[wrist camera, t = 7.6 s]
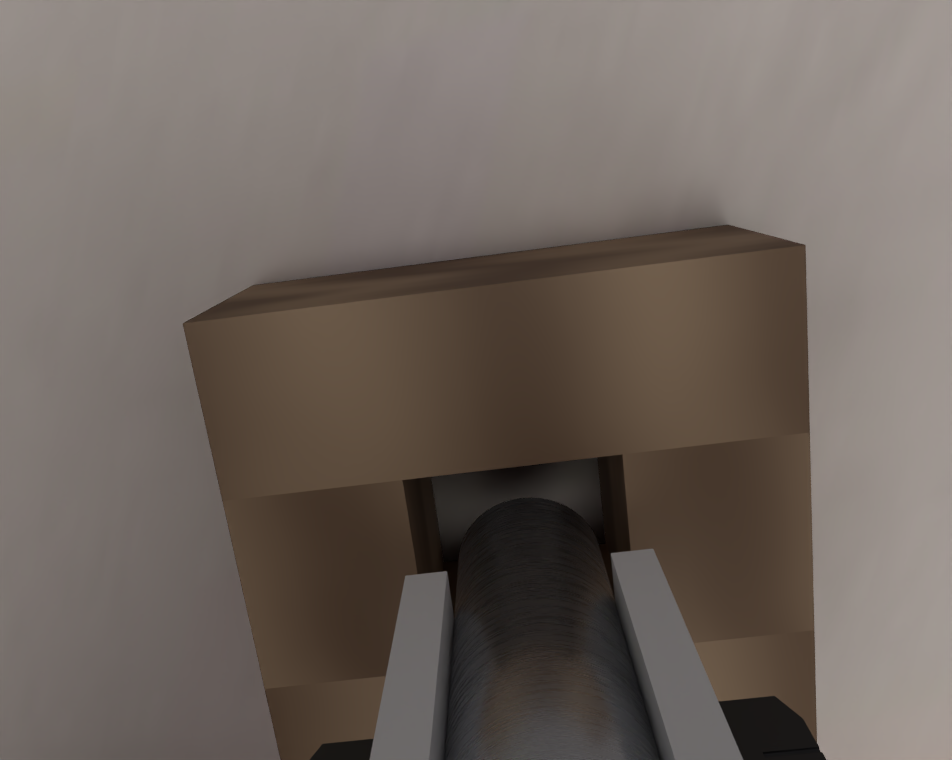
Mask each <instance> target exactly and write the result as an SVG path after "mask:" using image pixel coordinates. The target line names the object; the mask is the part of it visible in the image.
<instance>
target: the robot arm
mask: <svg viewBox="0 0 952 760" xmlns="http://www.w3.org/2000/svg"><path fill="white" fill-rule="evenodd" d="M611 563H612V574H613V585H614V596H615V604H616V607H617V611H618V614H619V617H620V621H621V624H622V628H623V631H624V635H625V638H626V642H627V645H628V648H629V652H630V655H631V659H632V662H633V666H634V669H635V673H636V676H637V680H638V683H639V686H640V690H641V693H642V697H643V700H644V704H645V707H646V711H647V714H648V718H649V721H650V724H651V728H652V731H653V735H654V738H655V742H656V745H657V749H658V752H659V755H660V759H661V760H826V758H825V757H824V755H823V753H822V752H820V750H819V746H818V744H817V742H816V741H815V739H814V737H813V735H812V734H811V732H810V730H809V728H808V726H807V725H806V723H805V721H804V719H803V718H802V717H801V716H799V715H798V714H797V713H796V712H794V711H793V710H792V709H791V708H789V707H788V706H787V705H786V704H784V703H783V702H782V701H781V700H779V699H778V698H777V697H776V696H768V697H758V698H748V699H738V700H728V701H718V699H717V697H716V695H715V692H714V690H713V688H712V685H711V683H710V681H709V678H708V676H707V674H706V671H705V669H704V667H703V664H702V662H701V659H700V657H699V655H698V652H697V650H696V648H695V645H694V643H693V641H692V638H691V636H690V634H689V631H688V629H687V627H686V624H685V622H684V620H683V617H682V615H681V613H680V610H679V608H678V606H677V603H676V601H675V598H674V596H673V594H672V591H671V589H670V587H669V584H668V582H667V580H666V577H665V575H664V573H663V570H662V568H661V566H660V563H659V561H658V559H657V556H656V554H655V552H654V549H644V550H635V551H626V552H617V553H611ZM453 630H454V613H453V607H452V600H451V594H450V587H449V580H448V574H447V571H443V572H434V573H425V574H416V575H407V576H405V580H404V585H403V591H402V596H401V601H400V606H399V611H398V616H397V621H396V626H395V632H394V637H393V642H392V647H391V652H390V657H389V662H388V668H387V673H386V678H385V683H384V688H383V693H382V698H381V704H380V709H379V714H378V719H377V724H376V729H375V734H374V739H365V740H355V741H345V742H335V743H325V744H322V745H321V746H320V747H319V749H318V750H317V751H316V752H315V754H314V755H313V756H312V757H311V759H310V760H444V758H445V744H446V730H447V716H448V701H449V687H450V673H451V659H452V645H453Z"/></svg>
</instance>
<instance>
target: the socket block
mask: <svg viewBox="0 0 952 760" xmlns="http://www.w3.org/2000/svg"><path fill="white" fill-rule="evenodd" d="M183 327H184V331H185V336H186V340H187V345H188V349H189V354H190V358H191V363H192V367H193V371H194V376H195V380H196V385H197V389H198V394H199V398H200V403H201V407H202V412H203V416H204V420H205V425H206V429H207V434H208V438H209V443H210V447H211V452H212V456H213V461H214V465H215V469H216V474H217V478H218V483H219V487H220V492H221V496H222V501H223V505H224V510H225V514H226V518H227V523H228V527H229V532H230V536H231V541H232V545H233V550H234V554H235V559H236V563H237V567H238V572H239V576H240V581H241V585H242V590H243V594H244V599H245V603H246V608H247V612H248V617H249V621H250V625H251V630H252V634H253V639H254V643H255V648H256V652H257V657H258V661H259V666H260V670H261V674H262V679H263V683H264V688H265V692H266V697H267V701H268V706H269V710H270V715H271V719H272V723H273V728H274V732H275V737H276V741H277V746H278V750H279V755H280V759H281V760H310V759H311V757H312V756H313V755H314V754H315V752H316V751H317V750H318V749H319V747H320V746H321V745H322V744H325V743H335V742H345V741H355V740H365V739H374V734H375V729H376V724H377V719H378V714H379V709H380V704H381V698H382V693H383V688H384V683H385V678H386V673H387V668H388V662H389V657H390V652H391V647H392V642H393V637H394V632H395V626H396V621H397V616H398V611H399V606H400V601H401V596H402V591H403V585H404V580H405V576H407V575H416V574H425V573H434V572H443V571H447V574H448V580H449V587H450V594H451V600H452V607H453V613H454V616H455V602H456V588H457V573H458V561H449V562H444V560H443V553H442V547H441V540H440V534H439V527H438V520H437V514H436V507H435V501H434V494H433V488H432V481H431V477H433V476H441V475H450V474H459V473H467V472H476V471H484V470H493V469H501V468H510V467H519V466H527V465H536V464H544V463H553V462H561V461H570V460H579V459H587V458H596V457H597V458H598V468H599V479H600V489H601V500H602V511H603V521H604V532H605V542H606V544H601V545H599V548H600V551H601V554H602V558H603V561H604V565H605V568H606V572H607V575H608V579H609V582H610V585H611V589H612V592H613V596H614V585H613V574H612V563H611V553H617V552H626V551H635V550H644V549H654V552H655V554H656V556H657V559H658V561H659V563H660V566H661V568H662V570H663V573H664V575H665V577H666V580H667V582H668V584H669V587H670V589H671V591H672V594H673V596H674V598H675V601H676V603H677V606H678V608H679V610H680V613H681V615H682V617H683V620H684V622H685V624H686V627H687V629H688V631H689V634H690V636H691V638H692V641H693V643H694V645H695V648H696V650H697V652H698V655H699V657H700V659H701V662H702V664H703V667H704V669H705V671H706V674H707V676H708V678H709V681H710V683H711V685H712V688H713V690H714V692H715V695H716V697H717V699H718V701H728V700H738V699H748V698H758V697H768V696H776V697H777V698H778V699H779V700H781V701H782V702H783V703H784V704H786V705H787V706H788V707H789V708H791V709H792V710H793V711H794V712H796V713H797V714H798V715H799V716H801V717H802V718H803V719H804V721H805V723H806V725H807V726H808V728H809V730H810V732H811V734H812V735H813V737H814V739H815V741H816V742H817V728H816V685H815V641H814V598H813V555H812V511H811V468H810V425H809V381H808V338H807V295H806V251H805V245H803V244H799V243H796V242H792V241H788V240H784V239H780V238H777V237H773V236H769V235H765V234H761V233H757V232H754V231H750V230H746V229H742V228H738V227H735V226H731V225H723V226H715V227H707V228H700V229H692V230H684V231H676V232H668V233H660V234H652V235H645V236H637V237H629V238H621V239H613V240H605V241H598V242H590V243H582V244H574V245H566V246H558V247H550V248H543V249H535V250H527V251H519V252H511V253H503V254H496V255H488V256H480V257H472V258H464V259H456V260H449V261H441V262H433V263H425V264H417V265H409V266H401V267H394V268H386V269H378V270H370V271H362V272H354V273H347V274H339V275H331V276H323V277H315V278H307V279H299V280H292V281H284V282H276V283H268V284H260V285H253V286H251V287H249V288H247V289H245V290H244V291H242V292H240V293H238V294H236V295H234V296H232V297H231V298H229V299H227V300H225V301H223V302H221V303H220V304H218V305H216V306H214V307H212V308H210V309H209V310H207V311H205V312H203V313H201V314H199V315H197V316H196V317H194V318H192V319H190V320H188V321H186V322H185V323H183ZM614 599H615V596H614Z"/></svg>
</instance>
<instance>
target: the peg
mask: <svg viewBox="0 0 952 760" xmlns="http://www.w3.org/2000/svg"><path fill="white" fill-rule="evenodd" d="M444 760H661V759H660V755H659V752H658V749H657V745H656V742H655V738H654V735H653V731H652V728H651V724H650V721H649V718H648V714H647V711H646V707H645V704H644V700H643V697H642V693H641V690H640V686H639V683H638V680H637V676H636V673H635V669H634V666H633V662H632V659H631V655H630V652H629V648H628V645H627V642H626V638H625V635H624V631H623V628H622V624H621V621H620V617H619V614H618V611H617V607H616V604H615V599H614V596H613V592H612V589H611V585H610V582H609V579H608V575H607V572H606V568H605V565H604V561H603V558H602V554H601V551H600V548H599V545H598V541H597V539H596V537H595V535H594V533H593V531H592V529H591V528H590V526H589V525H588V524H587V523H586V521H585V520H584V519H583V518H582V517H581V516H579V515H578V514H577V513H576V512H575V511H573V510H572V509H570V508H568V507H567V506H564V505H562V504H560V503H558V502H555V501H552V500H548V499H542V498H519V499H513V500H509V501H506V502H503V503H501V504H498V505H496V506H494V507H492V508H491V509H489V510H487V511H486V512H485V513H483V514H482V515H481V516H480V517H479V518H478V519H477V520H476V521H475V522H474V523H473V524H472V525H471V527H470V528H469V530H468V531H467V533H466V535H465V537H464V539H463V541H462V544H461V547H460V552H459V559H458V573H457V588H456V602H455V616H454V630H453V645H452V659H451V673H450V687H449V701H448V716H447V730H446V744H445V758H444Z"/></svg>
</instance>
